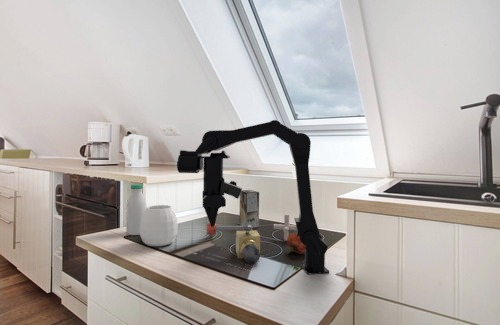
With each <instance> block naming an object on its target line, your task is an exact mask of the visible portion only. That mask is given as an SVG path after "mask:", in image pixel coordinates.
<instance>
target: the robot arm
mask: <svg viewBox="0 0 500 325" xmlns="http://www.w3.org/2000/svg"><path fill="white" fill-rule="evenodd" d="M273 135H274V136H275V137H277V138H278V139H280V140H281V141H283V142H284V143H286V144H288V148H289V151H290V154H291V157H292V161H293V164H294V168H295V177H296V188H297V197H298V199H297V200H298V206H299V214H298V217H294V218H293V219H294V222H295V225H296V230H294V231H295V233H296V235H297V237H298V236H299V238H300V241H301V242H302V243H303V244H304V245H306V247H305V252H304V263H300V267H301V268H302V269H303V270H304V271H305V273H306V274H308V275H312V274H313V275H315V274H330V270H329V269H328V268H327V267H326V266H325V265H326V260H325V259H326V253H327V251H328V245H327V243H326V241H325V239H324V237H322V235H321V234H320V231H319V227H318V224H317V220H316V217H315V214H314V208H313V199H312V198H313V196H312V188H311V178H310V168H309V161H310V156H311V138H310V137H309V136H308V135H307V133H306V134H305V133H303V132H296V131H295V130H293V129H291V128H289V127H288V126H286V125H284V124H283V123H281V122H280V121H279V120H277V119H273V120H270V121H269V122H264V123H263V122H262V123H258V124H254V125H250V126H246V127H242V128H237V129H230V130H229V129H228V130H226V129H225V130H222V129H221V130H218V129H217V130H208V131H206V132H205V133H204V134H203V136H202V140H201V143H200V144H199V146H198V147H197V148H196V149H195V150H193V151H191V150H179V155H178V158H177V161H176V169H177V171H178V173H179V174H199V173H200V171H202V170H203V190H202V208H203V209H204V212H205V214H206V217H207V219H208V223H210V224H211V226H215V223H217V222H216V221H217V216H218V213H219V209H220V208H224V207H227V206H226V203H227V202H226V201H227V200H226V198H225V194H226V195H228V196H231V197H233V198H234V199H237V200H239V199H240V193H241V190H243V188H242V187H241V186H238V185H237V182H236V181H234V180H230V181H229V182H227V181H225V177H224V159H230V155H229V154H227V152H226V150H223V149H226V148H227V147H230V146H232V145H234V144H236V143H241V142H244V141H245V142H246V141H249V140H255V139H259V138H264V137H268V136H273ZM220 150H221V152H217V151H220ZM207 154H209V156H206V155H207ZM203 155H205V156H203Z"/></svg>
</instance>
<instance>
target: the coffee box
mask: <svg viewBox="0 0 500 325" xmlns="http://www.w3.org/2000/svg"><path fill="white" fill-rule="evenodd" d="M246 224H249V225H253V229H254V228H259V226H260V225H259V224H260V192H259V191H255V190H252V189H244V190H243V189H242V190H241V193H240V196H239V225H246Z"/></svg>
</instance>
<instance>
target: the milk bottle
mask: <svg viewBox="0 0 500 325" xmlns="http://www.w3.org/2000/svg"><path fill="white" fill-rule="evenodd" d="M143 186H144V185H143V184H141V183H137V184H136V183H135V184H130V191H131V193H130V195H129V198H128V200H127V204H126V219H125V220H126V224H125V225H126V229H125V230H126V235H129V236H140V223H141V218H142V216H143V213H144V212H145V210H146V208H147V207H148V206H147V201H146V198H145V197H144V194H143V190H144V189H143V188H144V187H143Z"/></svg>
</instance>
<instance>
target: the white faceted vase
mask: <svg viewBox="0 0 500 325" xmlns="http://www.w3.org/2000/svg"><path fill="white" fill-rule="evenodd" d="M146 207H147V208H146V210H145V212H144V213H143V216H142V218H141V223H140V235H139V236H140V238H141V240H142V243H144V244H145V245H147V246H149V247H163V246H168V245H170V244H171V243H173V242H174V240H175V239H176V237H177V234H178V229H179V226H178V217H177V214H176V212H175V210H174V208H173V206H171V205H169V204H158V205H157V204H156V205H155V204H154V205H150V206H146Z"/></svg>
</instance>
